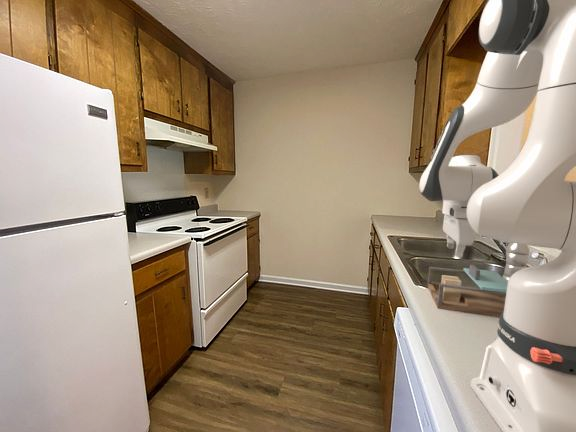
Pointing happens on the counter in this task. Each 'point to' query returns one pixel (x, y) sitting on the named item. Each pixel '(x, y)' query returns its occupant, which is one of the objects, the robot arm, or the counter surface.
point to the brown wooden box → (467, 298)
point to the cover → (487, 279)
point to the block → (451, 289)
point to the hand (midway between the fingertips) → (454, 252)
